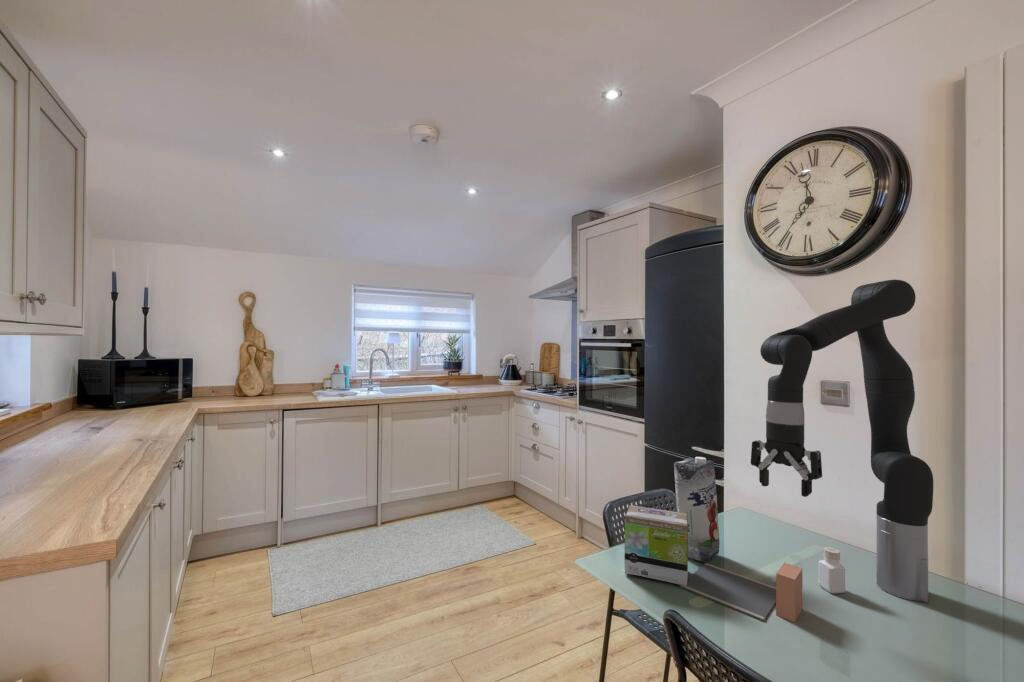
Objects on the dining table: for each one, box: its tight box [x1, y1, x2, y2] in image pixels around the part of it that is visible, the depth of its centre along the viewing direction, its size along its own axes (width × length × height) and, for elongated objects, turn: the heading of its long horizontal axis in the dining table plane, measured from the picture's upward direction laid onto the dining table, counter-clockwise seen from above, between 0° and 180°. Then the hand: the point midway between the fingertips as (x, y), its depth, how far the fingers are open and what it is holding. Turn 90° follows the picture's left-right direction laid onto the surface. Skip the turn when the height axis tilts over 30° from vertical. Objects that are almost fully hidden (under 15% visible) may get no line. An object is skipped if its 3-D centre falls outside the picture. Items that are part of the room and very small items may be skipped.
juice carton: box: [673, 456, 721, 563], centre depth 121 cm, size 9×10×27 cm
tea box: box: [623, 504, 689, 586], centre depth 110 cm, size 15×10×15 cm
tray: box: [679, 562, 776, 622], centre depth 103 cm, size 18×16×1 cm
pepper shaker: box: [818, 546, 846, 594], centre depth 103 cm, size 4×4×10 cm
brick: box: [775, 562, 803, 623], centre depth 94 cm, size 4×7×9 cm, turn 135°
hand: (784, 490), depth 99 cm, fingers open, 8 cm apart
